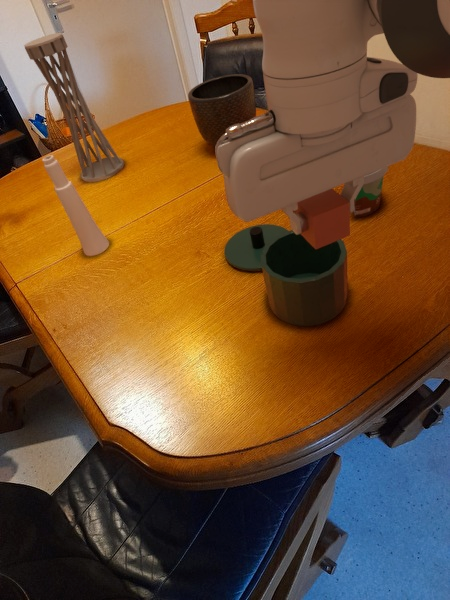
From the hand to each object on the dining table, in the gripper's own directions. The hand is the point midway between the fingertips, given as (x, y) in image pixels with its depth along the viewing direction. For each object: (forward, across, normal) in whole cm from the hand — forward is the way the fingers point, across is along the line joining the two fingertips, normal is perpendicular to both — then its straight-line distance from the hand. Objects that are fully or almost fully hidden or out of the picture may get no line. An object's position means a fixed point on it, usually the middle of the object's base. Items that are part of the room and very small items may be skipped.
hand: (322, 220), depth 46 cm
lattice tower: (+21, -24, +90) cm, 95 cm away
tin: (+21, +1, +9) cm, 23 cm away
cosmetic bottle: (+21, -31, +49) cm, 61 cm away
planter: (+21, +12, +74) cm, 78 cm away
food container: (+21, +24, +26) cm, 41 cm away
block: (+2, 0, 0) cm, 2 cm away
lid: (+20, 0, +26) cm, 33 cm away
